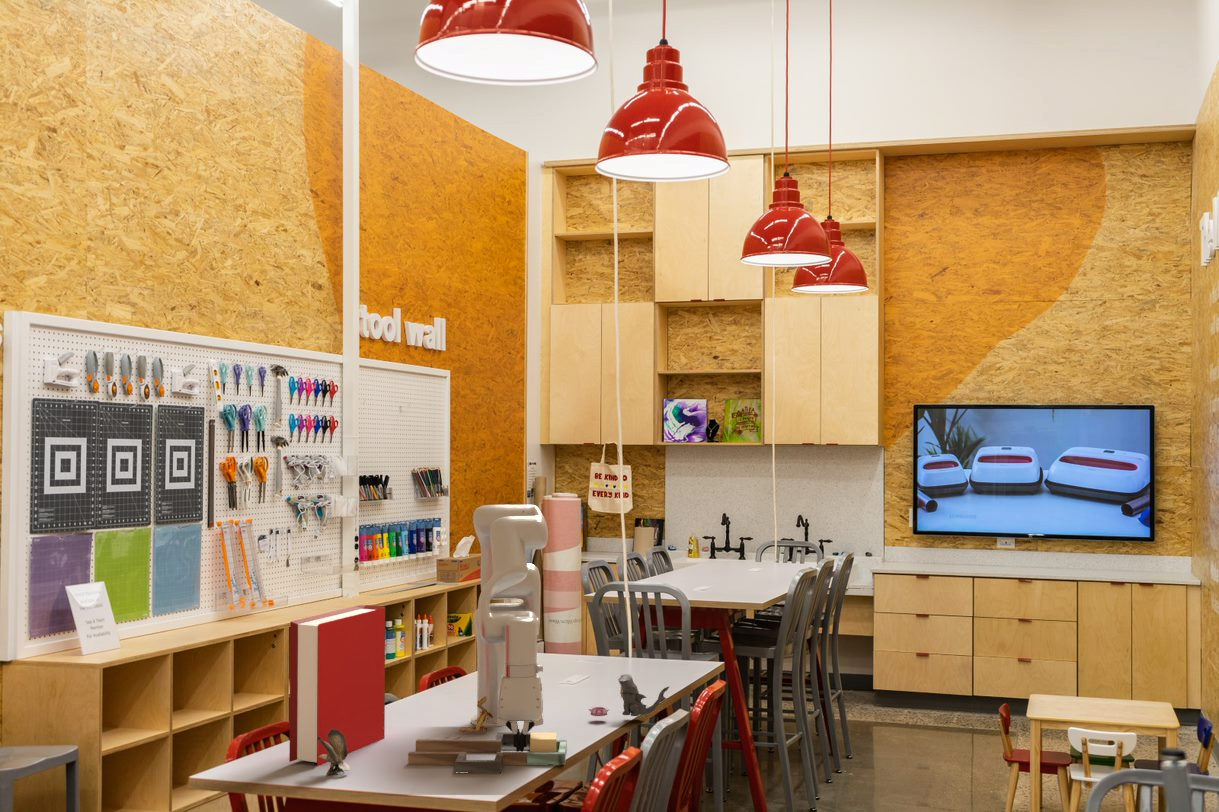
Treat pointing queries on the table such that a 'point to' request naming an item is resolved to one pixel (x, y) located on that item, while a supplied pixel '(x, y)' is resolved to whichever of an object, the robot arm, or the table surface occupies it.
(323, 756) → the eagle figurine
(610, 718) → the table surface
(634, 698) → the grey and pink pieces
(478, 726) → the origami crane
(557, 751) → the trap channel
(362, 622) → the book
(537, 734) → the ochre block
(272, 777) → the table surface
